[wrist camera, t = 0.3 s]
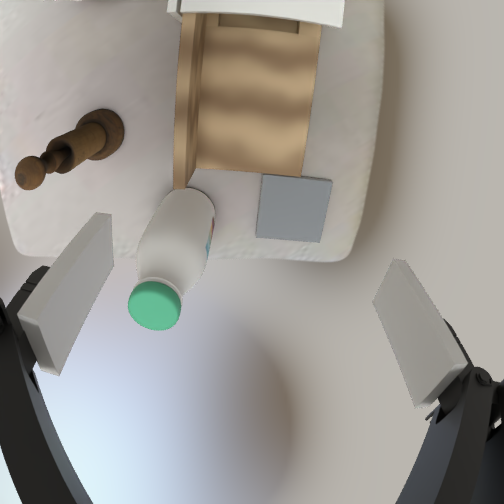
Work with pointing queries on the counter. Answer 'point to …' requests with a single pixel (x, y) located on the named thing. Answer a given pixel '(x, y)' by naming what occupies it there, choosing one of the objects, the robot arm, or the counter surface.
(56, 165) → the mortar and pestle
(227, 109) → the brown piece
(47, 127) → the counter surface
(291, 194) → the coaster
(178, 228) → the milk bottle
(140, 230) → the counter surface
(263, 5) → the lid
